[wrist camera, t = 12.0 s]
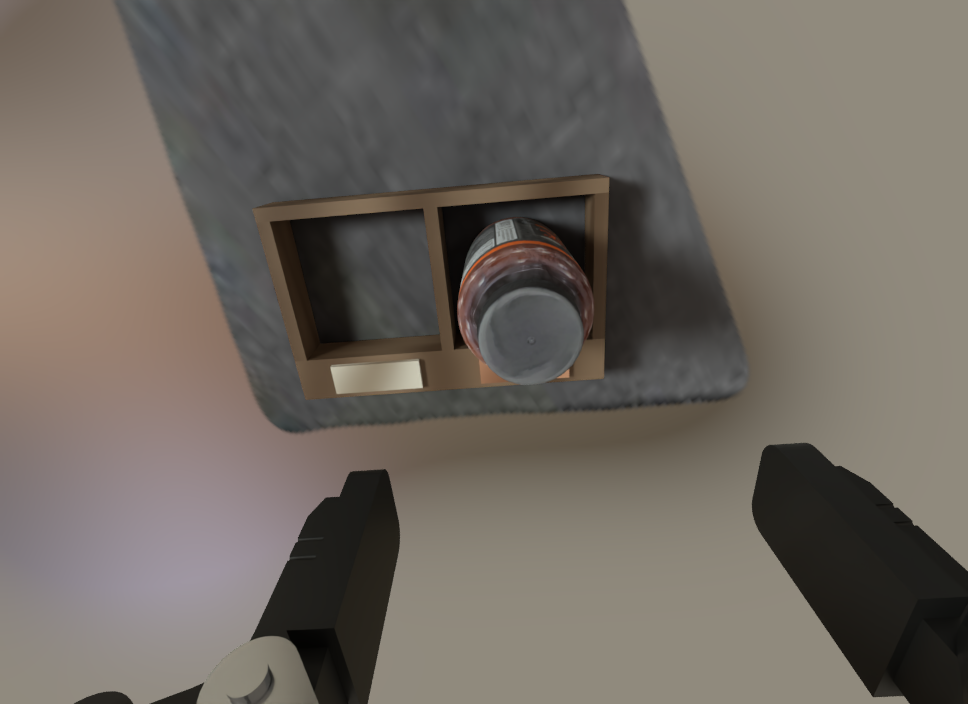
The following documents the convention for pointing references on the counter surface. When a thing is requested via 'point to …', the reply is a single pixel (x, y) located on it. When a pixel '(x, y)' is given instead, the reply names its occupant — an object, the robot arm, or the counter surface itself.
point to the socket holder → (434, 355)
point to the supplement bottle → (524, 302)
